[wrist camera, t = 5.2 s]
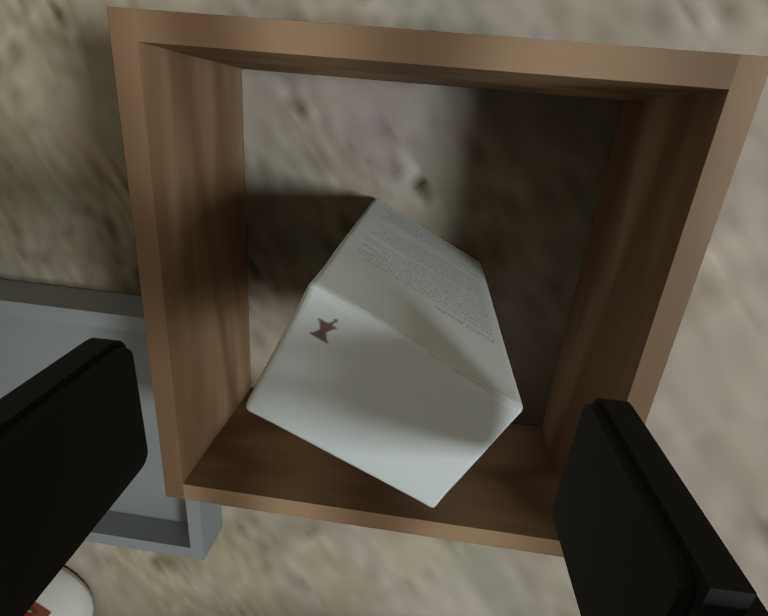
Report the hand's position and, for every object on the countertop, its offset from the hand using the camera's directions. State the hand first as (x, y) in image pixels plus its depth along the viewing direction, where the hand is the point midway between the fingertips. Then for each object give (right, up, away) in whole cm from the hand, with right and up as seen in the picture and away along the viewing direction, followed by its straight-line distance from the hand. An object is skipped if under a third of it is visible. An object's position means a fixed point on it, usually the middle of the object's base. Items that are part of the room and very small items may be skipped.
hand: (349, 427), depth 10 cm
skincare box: (+2, +5, +13) cm, 14 cm away
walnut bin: (+2, +4, +13) cm, 14 cm away
